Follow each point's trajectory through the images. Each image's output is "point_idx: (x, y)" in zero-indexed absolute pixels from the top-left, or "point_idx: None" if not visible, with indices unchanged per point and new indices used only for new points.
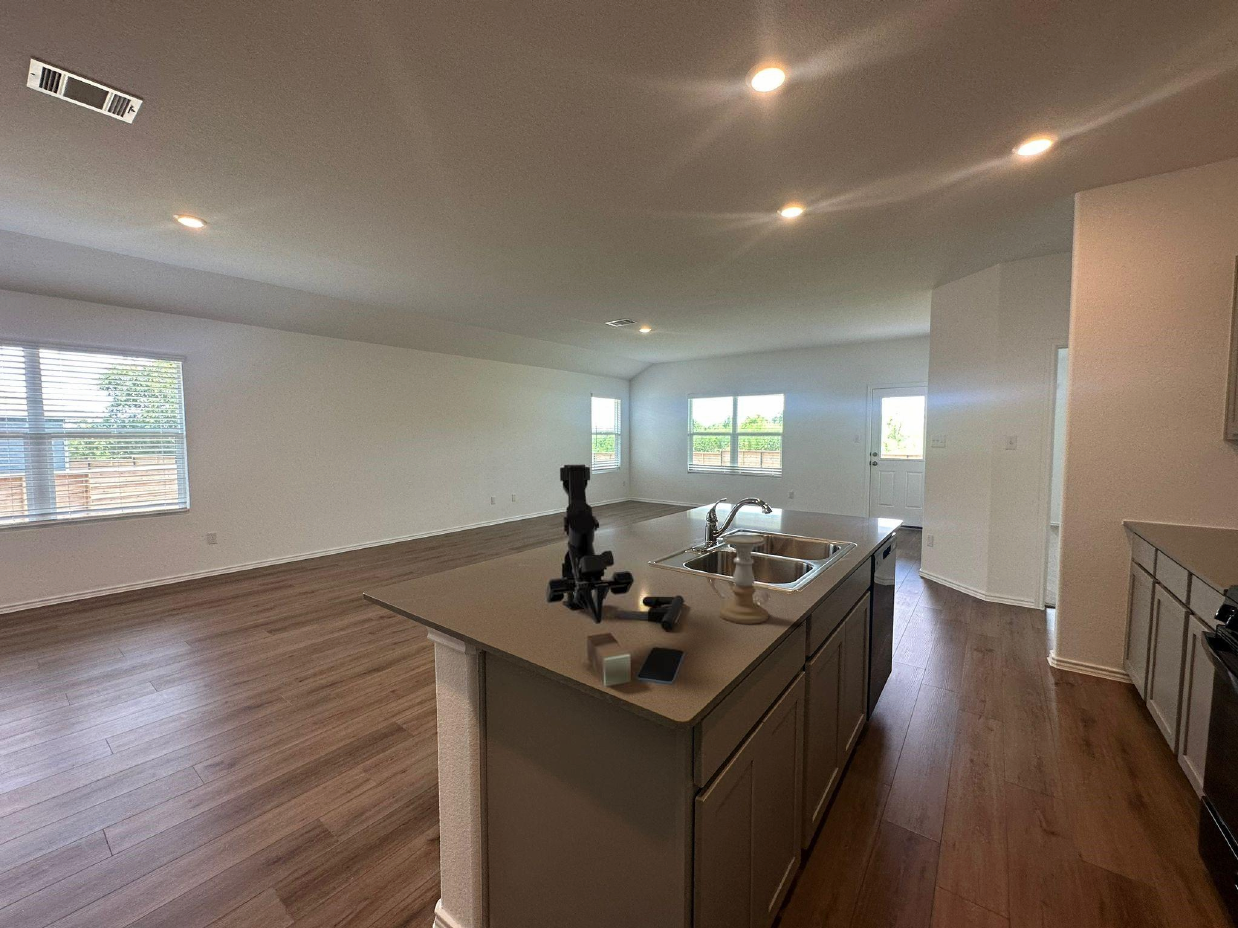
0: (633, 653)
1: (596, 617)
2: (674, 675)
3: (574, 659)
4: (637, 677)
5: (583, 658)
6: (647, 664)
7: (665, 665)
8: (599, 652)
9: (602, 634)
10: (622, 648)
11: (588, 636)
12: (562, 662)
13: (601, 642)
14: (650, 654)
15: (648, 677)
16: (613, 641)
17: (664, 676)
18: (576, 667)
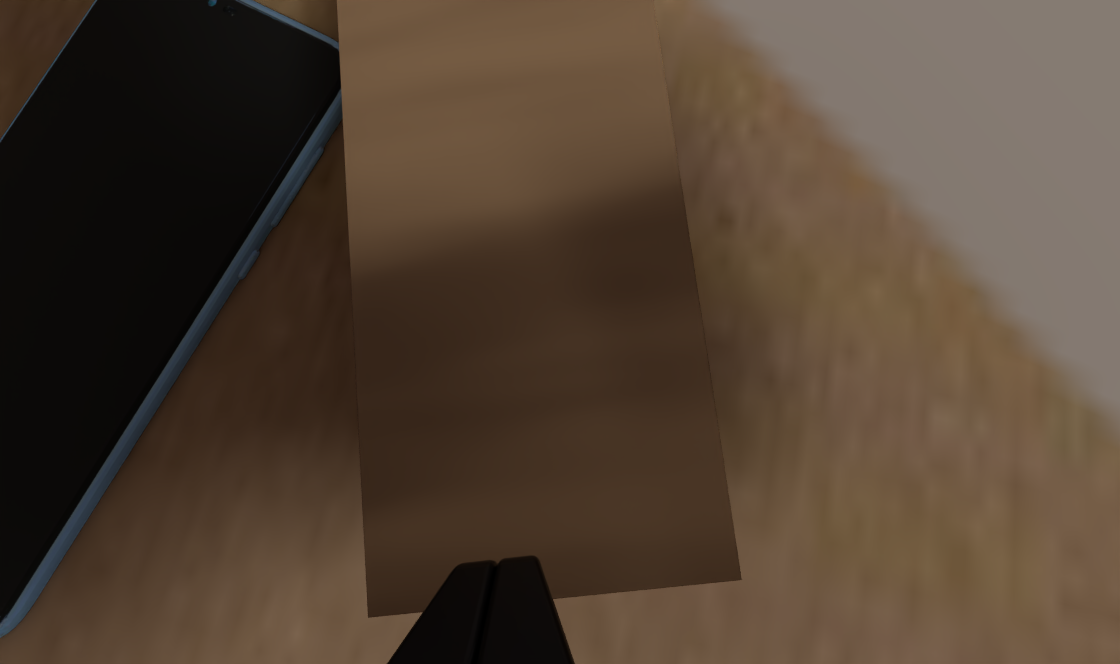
0: (220, 575)
1: (532, 607)
2: (70, 39)
3: (876, 603)
4: None
5: (767, 601)
6: (188, 262)
7: (57, 212)
8: (653, 3)
9: None
10: (355, 64)
11: (721, 564)
12: (1027, 561)
13: (567, 294)
14: (81, 466)
15: (269, 31)
16: (402, 289)
17: (147, 30)
18: (868, 396)
